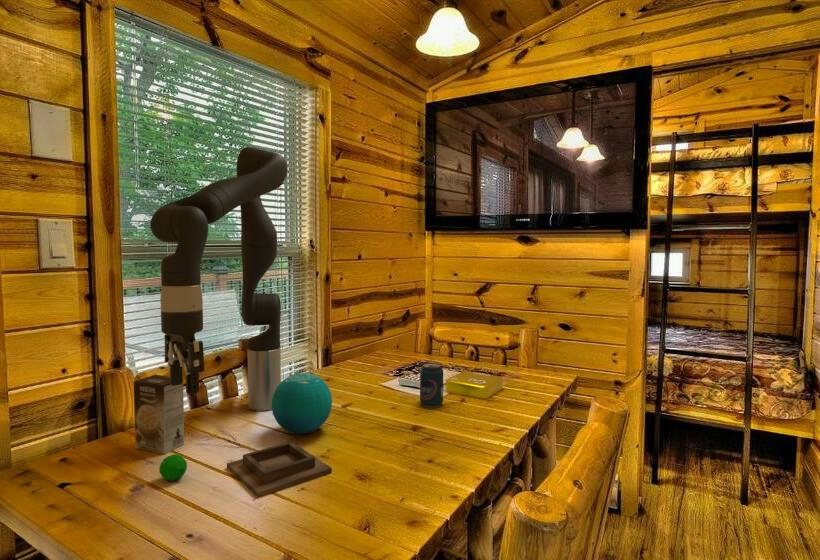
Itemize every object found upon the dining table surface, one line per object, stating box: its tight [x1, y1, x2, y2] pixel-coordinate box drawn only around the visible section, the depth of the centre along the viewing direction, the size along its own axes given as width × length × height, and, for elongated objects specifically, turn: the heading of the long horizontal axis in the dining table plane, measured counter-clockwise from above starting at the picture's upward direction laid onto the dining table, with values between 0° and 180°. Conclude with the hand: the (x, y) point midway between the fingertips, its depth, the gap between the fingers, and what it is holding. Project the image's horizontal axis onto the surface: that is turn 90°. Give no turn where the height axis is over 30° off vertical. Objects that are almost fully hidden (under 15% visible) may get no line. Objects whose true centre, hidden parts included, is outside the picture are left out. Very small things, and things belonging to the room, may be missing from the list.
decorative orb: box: [271, 372, 333, 435], centre depth 123 cm, size 15×15×15 cm
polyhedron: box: [159, 454, 188, 482], centre depth 98 cm, size 5×5×5 cm
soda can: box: [419, 362, 444, 408], centre depth 145 cm, size 7×7×12 cm
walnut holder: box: [226, 441, 333, 498], centre depth 102 cm, size 16×16×3 cm
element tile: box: [445, 370, 503, 400], centre depth 161 cm, size 15×15×5 cm
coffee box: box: [133, 374, 185, 455], centre depth 114 cm, size 9×6×16 cm
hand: (184, 388), depth 97 cm, fingers open, 8 cm apart
